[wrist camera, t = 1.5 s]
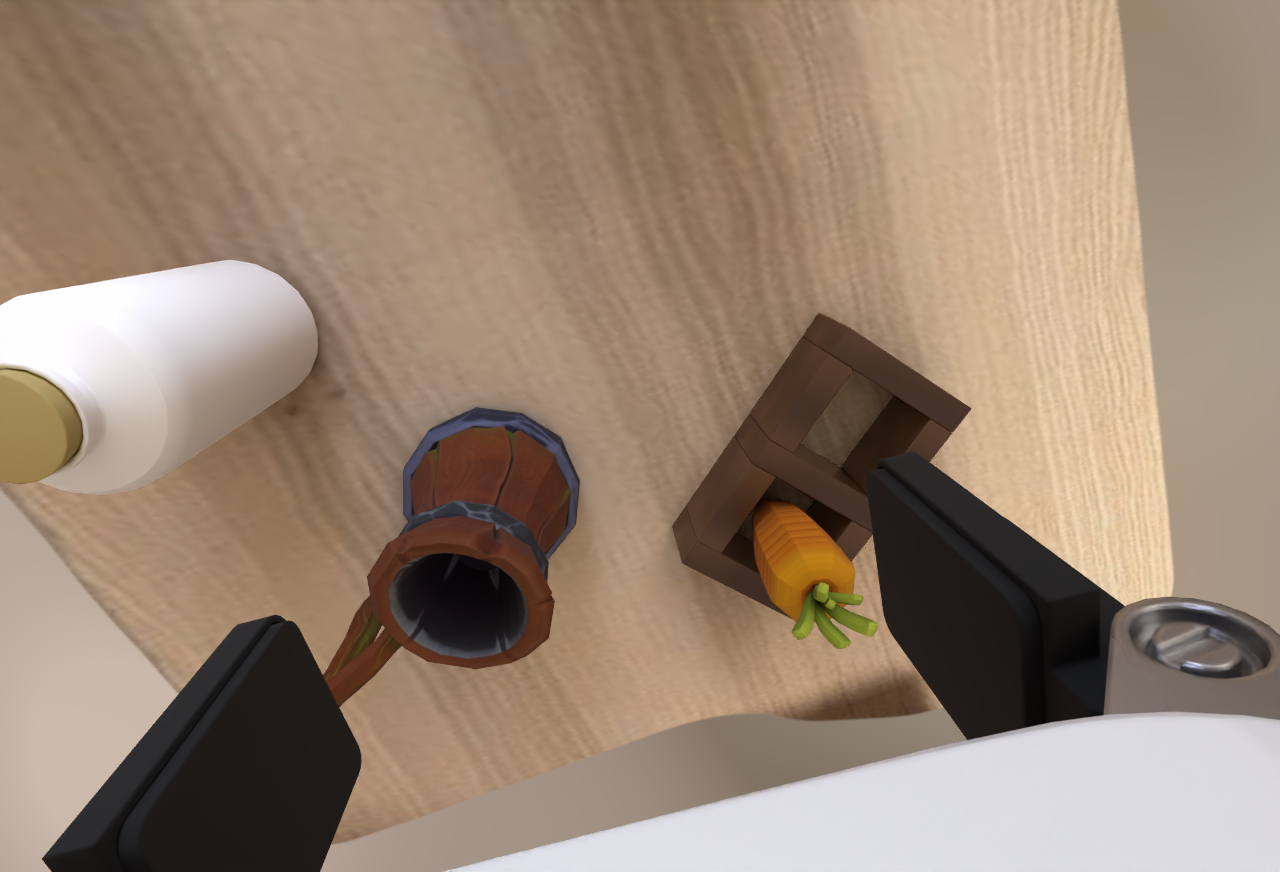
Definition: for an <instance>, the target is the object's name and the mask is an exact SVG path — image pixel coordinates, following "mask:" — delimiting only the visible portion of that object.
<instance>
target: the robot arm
mask: <svg viewBox="0 0 1280 872" xmlns="http://www.w3.org/2000/svg"><path fill="white" fill-rule="evenodd" d="M866 487H867V495H868V502H869V509H870V517H871V524H872V532H873V539H874V546H875V554H876V561H877V569H878V576H879V584H880V591H881V598H882V606H883V612H884V617H885V620H886V623H887V626H888V628H889V630H890V632H891V634H892V635H893V637H894V638H895V640H896V641H897V643H898V644H899V645H900V647H901V648H902V650H903V651H904V652H905V654H906V655H907V657H908V658H909V659H910V661H911V662H912V664H913V665H914V666H915V668H916V669H917V670H918V672H919V673H920V675H921V676H922V677H923V679H924V680H925V682H926V683H927V684H928V686H929V687H930V689H931V690H932V691H933V693H934V694H935V696H936V697H937V698H938V700H939V701H940V703H941V704H942V705H943V707H944V708H945V710H946V711H947V712H948V714H949V715H950V716H951V718H952V719H953V721H954V722H955V723H956V725H957V726H958V727H959V729H960V730H961V732H962V733H963V735H964V736H965V737H966V738H967V740H966V741H962V742H957V743H953V744H947V745H943V746H939V747H934V748H930V749H927V750H922V751H918V752H914V753H910V754H907V755H902V756H898V757H894V758H891V759H886V760H882V761H878V762H874V763H870V764H866V765H862V766H858V767H854V768H850V769H846V770H842V771H838V772H834V773H830V774H826V775H822V776H818V777H814V778H810V779H806V780H802V781H797V782H794V783H789V784H785V785H781V786H777V787H774V788H770V789H765V790H761V791H757V792H753V793H749V794H745V795H741V796H737V797H734V798H729V799H725V800H721V801H717V802H713V803H709V804H705V805H702V806H698V807H694V808H690V809H686V810H682V811H678V812H674V813H670V814H666V815H662V816H658V817H654V818H650V819H647V820H643V821H639V822H635V823H631V824H627V825H623V826H619V827H615V828H611V829H607V830H604V831H600V832H596V833H592V834H588V835H584V836H580V837H576V838H572V839H568V840H564V841H561V842H556V843H553V844H549V845H545V846H541V847H537V848H533V849H529V850H525V851H521V852H517V853H513V854H510V855H505V856H501V857H498V858H494V859H490V860H486V861H482V862H478V863H475V864H471V865H466V866H462V867H458V868H454V869H450V870H446V871H442V872H1280V635H1279V634H1278V633H1277V632H1276V631H1274V630H1273V629H1272V628H1271V627H1270V626H1269V625H1267V624H1265V623H1264V622H1262V621H1259V620H1258V619H1256V618H1254V617H1252V616H1250V615H1249V614H1247V613H1245V612H1242V611H1239V610H1236V609H1233V608H1230V607H1228V606H1225V605H1222V604H1218V603H1213V602H1209V601H1204V600H1199V599H1194V598H1178V597H1161V598H1151V599H1144V600H1141V601H1138V602H1135V603H1132V604H1129V605H1127V606H1124V605H1123V604H1121V603H1120V602H1119V601H1117V600H1116V599H1115V598H1113V597H1112V596H1111V595H1109V594H1108V593H1107V592H1105V591H1104V590H1102V589H1101V588H1100V587H1098V586H1097V585H1096V584H1094V583H1093V582H1092V581H1090V580H1089V579H1088V578H1086V577H1085V576H1084V575H1082V574H1081V573H1080V572H1078V571H1077V570H1075V569H1074V568H1073V567H1071V566H1070V565H1069V564H1067V563H1066V562H1065V561H1063V560H1062V559H1061V558H1059V557H1058V556H1057V555H1055V554H1054V553H1052V552H1051V551H1050V550H1048V549H1047V548H1046V547H1044V546H1043V545H1042V544H1040V543H1039V542H1038V541H1036V540H1035V539H1034V538H1032V537H1031V536H1030V535H1028V534H1027V533H1025V532H1024V531H1023V530H1021V529H1020V528H1019V527H1017V526H1016V525H1015V524H1013V523H1012V522H1011V521H1009V520H1008V519H1006V518H1004V517H1003V516H1001V515H1000V514H999V513H997V512H996V511H994V510H993V509H992V508H990V507H989V506H988V505H986V504H985V503H984V502H982V501H981V500H980V499H978V498H977V497H976V496H974V495H973V494H972V493H970V492H969V491H968V490H966V489H965V488H964V487H962V486H961V485H959V484H958V483H957V482H955V481H954V480H953V479H951V478H950V477H949V476H947V475H946V474H945V473H943V472H942V471H941V470H939V469H938V468H937V467H935V466H934V465H933V464H931V463H930V462H928V461H927V460H926V459H924V458H923V457H922V456H920V455H919V454H918V453H916V452H914V451H911V452H907V453H904V454H900V455H896V456H892V457H888V458H884V459H880V460H877V462H876V463H875V470H873V471H870V472H867V474H866ZM360 768H361V752H360V748H359V746H358V744H357V742H356V740H355V738H354V736H353V734H352V732H351V730H350V728H349V726H348V724H347V722H346V720H345V718H344V716H343V714H342V712H341V710H340V708H339V706H338V704H337V702H336V700H335V698H334V696H333V694H332V692H331V690H330V688H329V686H328V685H327V683H326V681H325V679H324V677H323V675H322V673H321V671H320V669H319V667H318V665H317V663H316V661H315V659H314V657H313V655H312V653H311V651H310V649H309V647H308V645H307V643H306V641H305V639H304V637H303V635H302V633H301V631H300V629H299V628H298V626H297V625H296V624H295V623H294V622H292V621H286V620H285V619H284V618H282V617H281V616H278V615H273V616H269V617H265V618H261V619H257V620H254V621H250V622H246V623H242V624H238V625H237V626H236V627H234V628H233V629H232V631H231V632H230V633H229V634H228V635H227V637H226V638H225V639H224V640H223V641H222V643H221V644H220V645H219V646H218V647H217V649H216V650H215V651H214V652H213V653H212V655H211V656H210V657H209V658H208V659H207V661H206V662H205V663H204V664H203V665H202V667H201V668H200V669H199V670H198V671H197V673H196V674H195V675H194V676H193V677H192V679H191V680H190V681H189V682H188V683H187V685H186V686H185V687H184V688H183V690H182V691H181V692H180V693H179V694H178V696H177V697H176V698H175V699H174V700H173V702H172V703H171V704H170V705H169V706H168V708H167V709H166V710H165V711H164V712H163V714H162V715H161V716H160V717H159V718H158V720H157V721H156V722H155V723H154V724H153V726H152V727H151V728H150V729H149V730H148V732H147V733H146V734H145V735H144V736H143V738H142V739H141V740H140V741H139V742H138V744H137V745H136V746H135V747H134V749H133V750H132V751H131V752H130V753H129V755H128V756H127V757H126V758H125V760H124V761H123V762H122V763H121V764H120V765H119V767H118V768H117V769H116V770H115V771H114V773H113V774H112V775H111V776H110V777H109V779H108V780H107V781H106V782H105V783H104V785H103V786H102V787H101V788H100V789H99V791H98V792H97V793H96V795H95V796H94V797H93V798H92V799H91V800H90V801H89V803H88V804H87V805H86V806H85V808H84V809H83V810H82V811H81V812H80V814H79V815H78V816H77V817H76V818H75V820H74V821H73V822H72V823H71V824H70V826H69V827H68V828H67V829H66V830H65V832H64V833H63V834H62V835H61V836H60V838H59V839H58V840H57V841H56V842H55V844H54V845H53V846H52V847H51V848H50V850H49V851H48V852H47V853H46V855H45V856H44V857H43V858H42V860H43V861H44V862H45V864H46V865H47V866H48V868H49V869H50V870H51V871H52V872H320V870H321V868H322V866H323V863H324V860H325V858H326V855H327V853H328V850H329V848H330V845H331V843H332V840H333V838H334V835H335V833H336V830H337V828H338V825H339V823H340V820H341V818H342V815H343V813H344V810H345V808H346V805H347V803H348V800H349V797H350V795H351V792H352V790H353V787H354V785H355V782H356V780H357V777H358V775H359V772H360Z"/></svg>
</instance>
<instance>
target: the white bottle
mask: <svg viewBox="0 0 1280 872" xmlns="http://www.w3.org/2000/svg"><path fill="white" fill-rule="evenodd" d="M317 354H318V331H317V328H316V325H315V322H314V318H313V315H312V312H311V310H310V309H309V307H308V306H307V304H306V303H305V301H304V300H303V298H302V297H301V295H300V294H299V292H298V291H297V290H296V289H295V288H293V287H292V286H291V285H290V284H289V283H288V282H287V281H285V280H284V279H283V278H282V277H281V276H280V275H278V274H276V273H274V272H272V271H269V270H267V269H265V268H263V267H261V266H259V265H257V264H253V263H247V262H241V261H235V260H224V261H218V262H211V263H204V264H198V265H193V266H187V267H181V268H176V269H170V270H164V271H158V272H153V273H147V274H141V275H135V276H130V277H124V278H118V279H112V280H107V281H101V282H95V283H90V284H84V285H78V286H72V287H67V288H61V289H55V290H49V291H44V292H38V293H32V294H26V295H21V296H17V297H15V298H13V299H11V300H9V301H8V302H6V303H4V304H2V305H0V482H7V483H15V484H24V483H31V482H37V481H38V482H40V483H43V484H46V485H48V486H51V487H54V488H56V489H59V490H62V491H65V492H73V493H81V494H90V495H98V496H101V495H108V494H114V493H121V492H127V491H133V490H136V489H139V488H142V487H144V486H146V485H148V484H150V483H152V482H153V481H155V480H157V479H159V478H161V477H163V476H165V475H167V474H169V473H170V472H172V471H173V470H175V469H176V468H178V467H179V466H181V465H182V464H184V463H185V462H187V461H188V460H190V459H191V458H193V457H194V456H196V455H197V454H199V453H200V452H202V451H203V450H205V449H206V448H208V447H209V446H211V445H212V444H214V443H215V442H217V441H218V440H220V439H221V438H223V437H224V436H226V435H227V434H229V433H230V432H232V431H233V430H235V429H236V428H238V427H239V426H241V425H242V424H244V423H245V422H247V421H248V420H250V419H251V418H253V417H254V416H256V415H257V414H259V413H260V412H262V411H263V410H265V409H266V408H268V407H269V406H271V405H272V404H274V403H275V402H277V401H278V400H280V399H281V398H283V397H284V396H286V395H287V394H289V393H290V392H292V391H293V390H295V389H296V388H297V387H298V386H299V385H300V384H301V383H302V382H303V381H304V379H305V378H306V377H307V376H308V375H309V374H310V372H311V369H312V367H313V364H314V362H315V359H316V357H317Z"/></svg>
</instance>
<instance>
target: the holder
mask: <svg viewBox="0 0 1280 872" xmlns="http://www.w3.org/2000/svg"><path fill="white" fill-rule="evenodd" d="M853 370H855V371H857V372H858V373H860V374H861V375H863V376H864V377H866V378H867V379H869V380H871V381H872V382H874V383H875V384H877V385H878V386H880V387H881V388H883V389H885V390H886V391H888V392H889V393H891V394H892V395H894V397H893V398H892V400H891V401H890V402H889V404H888V405H887V406H886V408H885V409H884V410H883V412H882V413H881V414H880V416H879V417H878V418H877V420H876V421H875V422H874V424H873V425H872V426H871V428H870V429H869V430H868V432H867V433H866V434H865V436H864V437H863V439H862V440H861V441H860V443H859V444H858V445H857V447H856V448H855V449H854V451H853V452H852V453H851V455H850V456H849V457H848V459H847V460H846V461H845V463H844V464H843V465H842V467H841V468H840V467H838V466H837V465H835V464H833V463H832V462H830V461H828V460H827V459H825V458H823V457H822V456H820V455H818V454H817V453H815V452H813V451H811V450H810V449H808V448H806V447H805V446H803V445H801V444H800V443H801V441H802V440H803V439H804V437H805V436H806V434H807V433H808V432H809V430H810V429H811V427H812V426H813V425H814V423H815V422H816V421H817V419H818V418H819V416H820V415H821V414H822V412H823V411H824V409H825V408H826V407H827V405H828V404H829V402H830V401H831V400H832V398H833V397H834V396H835V394H836V393H837V391H838V390H839V389H840V387H841V386H842V384H843V383H844V382H845V380H846V379H847V378H848V376H849V375H850V373H851V372H852V371H853ZM970 410H971V408H970V407H969V406H967V405H966V404H964V403H963V402H961V401H960V400H958V399H957V398H955V397H954V396H952V395H951V394H949V393H947V392H946V391H944V390H943V389H941V388H940V387H938V386H937V385H935V384H934V383H932V382H931V381H929V380H928V379H926V378H925V377H923V376H922V375H920V374H919V373H917V372H916V371H914V370H913V369H911V368H910V367H908V366H907V365H905V364H904V363H902V362H901V361H899V360H898V359H896V358H895V357H893V356H892V355H890V354H889V353H887V352H886V351H884V350H883V349H881V348H880V347H878V346H877V345H875V344H873V343H872V342H870V341H869V340H867V339H866V338H864V337H863V336H861V335H860V334H858V333H857V332H855V331H854V330H852V329H851V328H849V327H847V326H845V325H843V324H841V323H839V322H837V321H835V320H833V319H831V318H829V317H827V316H825V315H823V314H821V313H819V314H818V315H817V317H816V318H815V320H814V321H813V322H812V324H811V325H810V327H809V328H808V330H807V331H806V333H805V334H804V336H803V337H802V338H801V340H800V341H799V343H798V344H797V346H796V347H795V349H794V350H793V351H792V353H791V354H790V356H789V357H788V359H787V360H786V362H785V363H784V365H783V366H782V367H781V369H780V370H779V372H778V373H777V375H776V376H775V378H774V379H773V381H772V382H771V383H770V385H769V386H768V388H767V389H766V391H765V392H764V394H763V395H762V397H761V398H760V399H759V401H758V402H757V404H756V405H755V407H754V408H753V410H752V411H751V413H750V414H751V415H749V416H748V417H747V419H746V420H745V422H744V423H743V424H742V426H741V427H740V429H739V430H738V432H737V433H736V435H735V436H734V437H733V439H732V440H731V441H730V443H729V444H728V446H727V447H726V449H725V450H724V452H723V453H722V455H721V456H720V458H719V459H718V460H717V462H716V463H715V465H714V466H713V468H712V469H711V471H710V472H709V474H708V475H707V476H706V478H705V479H704V481H703V482H702V484H701V485H700V487H699V488H698V490H697V491H696V492H695V494H694V495H693V497H692V498H691V500H690V501H689V503H688V504H687V506H686V507H685V508H684V510H683V511H682V513H681V514H680V516H679V517H678V519H677V520H676V522H675V523H674V524H673V526H672V527H673V530H674V534H675V538H676V542H677V545H678V549H679V553H680V557H681V560H682V563H683V564H685V565H687V566H689V567H691V568H693V569H695V570H697V571H699V572H701V573H703V574H705V575H707V576H708V577H710V578H712V579H714V580H716V581H718V582H720V583H722V584H724V585H726V586H728V587H730V588H732V589H734V590H736V591H738V592H740V593H742V594H744V595H746V596H748V597H750V598H752V599H754V600H756V601H758V602H760V603H762V604H764V605H766V606H767V607H769V608H771V609H773V610H775V611H777V612H779V613H781V614H783V615H785V616H787V617H789V618H791V617H790V616H789V615H787V614H786V613H785V612H784V611H783V610H781V609H780V608H779V607H778V606H776V605H775V604H774V603H773V602H772V601H771V599H770V598H769V595H768V593H767V590H766V588H765V585H764V583H763V581H762V578H761V575H760V572H759V569H758V567H757V564H756V559H755V553H754V545H753V542H752V541H750V540H748V539H746V538H744V537H743V536H741V535H739V534H737V533H736V532H737V530H738V529H739V528H740V526H741V525H742V523H743V522H744V521H745V519H746V518H747V517H748V515H749V514H750V512H751V511H752V510H753V508H754V507H755V505H756V504H757V503H758V501H759V500H760V498H761V497H762V496H763V494H764V493H765V492H766V490H767V489H768V487H769V486H770V485H771V483H772V482H773V480H774V479H775V477H777V478H778V479H780V480H782V481H784V482H785V483H787V484H789V485H791V486H792V487H794V488H796V489H798V490H799V491H801V492H803V493H805V494H806V495H808V496H810V497H812V498H813V499H815V500H816V501H815V502H814V504H813V505H812V506H811V508H810V509H809V510H808V512H807V513H806V514H807V515H808V516H809V517H810V518H811V519H812V520H813V521H814V522H816V523H817V524H818V525H819V526H820V527H821V528H822V529H823V530H824V531H825V532H826V533H827V534H828V535H829V536H830V537H831V538H832V539H833V541H834V542H835V543H836V544H837V545H838V546H839V547H840V549H841V550H842V551H843V552H844V554H845V555H846V556H847V557H848V559H849V560H850V561H852V560H853V559H854V557H855V556H856V555H857V554H858V552H859V551H860V550H861V549H862V547H863V546H864V545H865V543H866V542H867V541H868V540H869V538H870V537H871V536H872V535H873V532H872V524H871V517H870V509H869V502H868V495H867V487H866V474H867V472H870V471H873V470H875V463H876V462H877V460H880V459H884V458H888V457H892V456H896V455H900V454H904V453H907V452H911V451H914V452H916V453H918V454H919V455H920V456H922V457H923V458H924V459H926V460H927V461H928V462H930V461H931V460H932V458H933V457H934V456H935V454H936V453H937V452H938V451H939V449H940V448H941V447H942V446H943V444H944V443H945V442H946V440H947V439H948V438H949V437H950V435H951V434H952V433H951V432H954V430H955V429H956V428H957V427H958V425H959V424H960V423H961V421H962V420H963V419H964V418H965V416H966V415H967V414H968V413H969V411H970ZM791 619H792V618H791Z"/></svg>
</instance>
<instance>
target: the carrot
mask: <svg viewBox="0 0 1280 872" xmlns="http://www.w3.org/2000/svg"><path fill="white" fill-rule="evenodd" d="M753 545H754V553H755V559H756V564H757V567H758V569H759V572H760V575H761V578H762V581H763V583H764V585H765V588H766V590H767V593H768V595H769V598H770V599H771V601H772V602H773V603H774V604H775V605H776V606H778V607H779V608H780V609H781V610H783V611H784V612H785V613H786V614H787V615H789V616H790V617H791V618H792V619H793V620H795V621H796V622H797V623H796V625H795V626H794V628H793V630H792V634H793V635H794V637H796V638H797V639H798V640H800V639H804V638H806V637H807V636H808V635H809V634H810V632H811V630H812V628H813V624H814V622H816V624H817V626H818V628H819V630H820V631H821V633H822V634H823V635H824V636H825V637H826V639H827V640H828V641H829V642H830V643H831V644H832V645H833V646H834V647H835V648H836V649H842V648H846V647H847V646H849V645H850V642H851V641H850V640H849V639H848V638H847V637H846V636H845V635H844V634H843V633H842V632H841V631H840V630H839V629H838V628H837V627H836V626H835V625H834V624H832V622H831V621H830V619H831V618H833V619H835V620H836V621H837V622H838V623H840V624H842V625H844V626H846V627H848V628H850V629H852V630H854V631H856V632H859V633H861V634H864V635H866V636H870V637H871V636H874V634H875V632H876V630H877V622H875V621H872V620H870V619H867V618H865V617H863V616H860V615H857V614H855V613H852V612H850V611H848V610H846V609H844V607H845V606H846V605H847V604H850V605H860V604H861V603H862V601H863V596H861V595H855V594H853V588H854V577H855V569H854V566H853V564H852V562H851V561H850V560H849V559H848V557H847V556H846V555H845V554H844V552H843V551H842V550H841V549H840V547H839V546H838V545H837V544H836V543H835V542H834V541H833V539H832V538H831V537H830V536H829V535H828V534H827V533H826V532H825V531H824V530H823V529H822V528H821V527H820V526H819V525H818V524H817V523H816V522H814V521H813V520H812V519H811V518H810V517H809V516H808V515H807V514H805V513H804V512H803V511H802V510H800V509H799V508H798V507H796V506H795V505H793V504H792V503H790V502H789V501H785V500H781V499H767V500H763V501H762V502H761V503H760V504H759V505H758V507H757V508H756V510H755V513H754V517H753Z"/></svg>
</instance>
